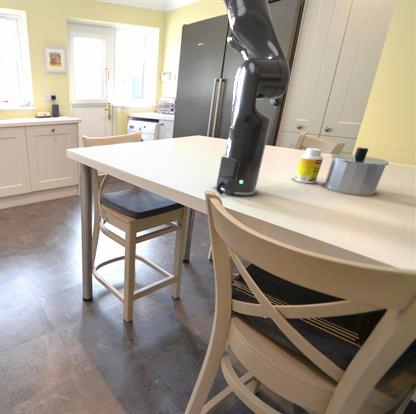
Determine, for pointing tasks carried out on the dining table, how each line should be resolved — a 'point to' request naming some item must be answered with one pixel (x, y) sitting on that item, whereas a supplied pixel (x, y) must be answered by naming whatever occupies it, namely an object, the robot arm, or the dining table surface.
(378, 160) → the pot lid
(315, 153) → the supplement bottle
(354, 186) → the pot
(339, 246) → the dining table surface
